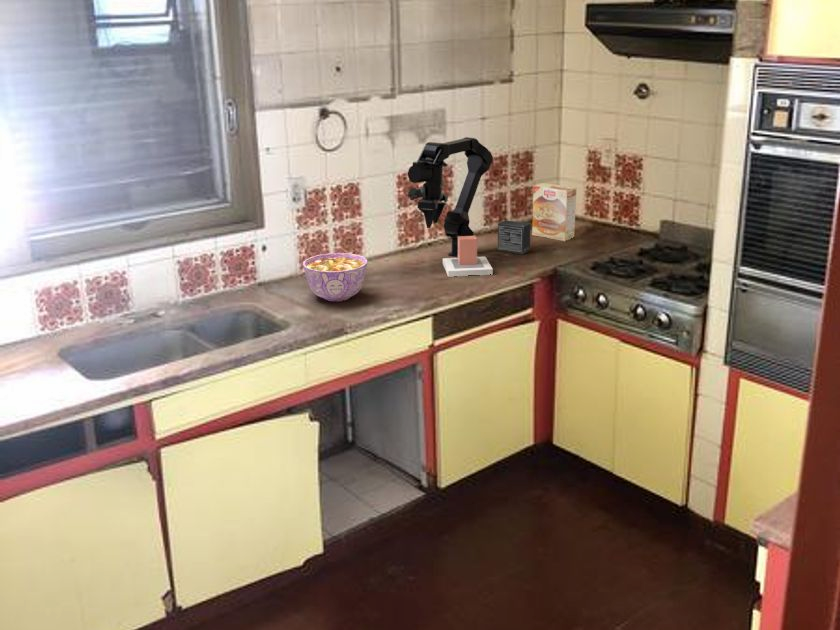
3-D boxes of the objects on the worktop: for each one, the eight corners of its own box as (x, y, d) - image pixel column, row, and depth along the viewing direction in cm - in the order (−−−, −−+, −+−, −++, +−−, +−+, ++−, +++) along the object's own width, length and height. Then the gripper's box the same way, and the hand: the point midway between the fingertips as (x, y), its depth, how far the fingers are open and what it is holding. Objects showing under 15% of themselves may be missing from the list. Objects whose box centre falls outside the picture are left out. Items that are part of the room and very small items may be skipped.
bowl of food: (335, 312, 277) (333, 276, 273) (291, 298, 289) (289, 263, 285) (381, 296, 290) (380, 260, 286) (338, 283, 303) (337, 249, 299)
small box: (530, 250, 336) (531, 222, 332) (522, 255, 331) (523, 226, 327) (505, 246, 341) (505, 219, 338) (496, 251, 336) (497, 223, 332)
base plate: (442, 263, 322) (442, 257, 321) (485, 261, 323) (485, 255, 323) (448, 276, 308) (448, 270, 307) (492, 274, 309) (492, 268, 309)
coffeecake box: (531, 235, 356) (532, 185, 349) (541, 231, 361) (543, 182, 354) (564, 241, 346) (567, 190, 340) (574, 237, 352) (577, 187, 345)
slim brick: (475, 261, 317) (475, 235, 314) (476, 264, 313) (477, 238, 310) (457, 261, 316) (457, 236, 313) (459, 265, 313) (459, 239, 310)
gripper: (418, 174, 324) (416, 218, 328) (403, 182, 306) (401, 228, 311) (449, 177, 321) (447, 221, 326) (435, 184, 304) (433, 231, 308)
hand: (431, 225), depth 318 cm, fingers open, 9 cm apart
